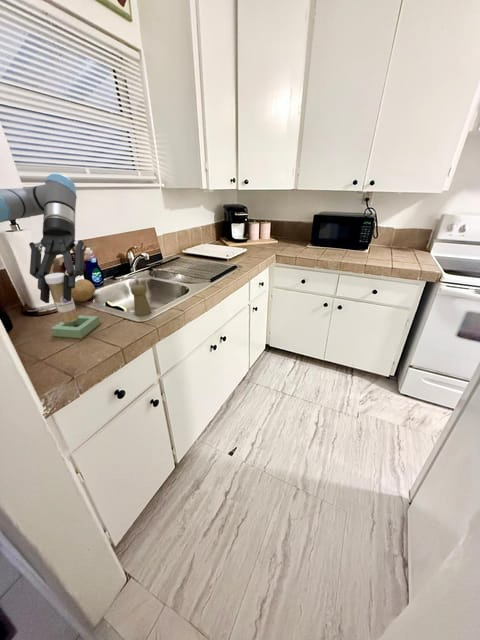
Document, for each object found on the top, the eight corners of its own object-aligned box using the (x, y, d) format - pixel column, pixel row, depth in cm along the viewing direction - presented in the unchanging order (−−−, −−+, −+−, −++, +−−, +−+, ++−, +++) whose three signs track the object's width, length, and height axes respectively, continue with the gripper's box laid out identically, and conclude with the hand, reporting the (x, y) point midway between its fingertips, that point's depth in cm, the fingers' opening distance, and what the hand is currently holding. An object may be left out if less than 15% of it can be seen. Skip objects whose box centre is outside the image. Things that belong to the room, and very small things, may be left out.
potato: (66, 307, 106) (60, 289, 102) (76, 295, 118) (71, 278, 114) (92, 305, 108) (87, 287, 104) (99, 293, 120) (95, 276, 116)
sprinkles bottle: (67, 324, 72) (51, 278, 66) (57, 321, 74) (40, 276, 67) (82, 317, 76) (68, 273, 69) (72, 314, 77) (57, 271, 71)
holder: (54, 336, 86) (51, 328, 85) (75, 322, 95) (72, 314, 94) (81, 338, 85) (79, 330, 84) (100, 323, 94) (98, 316, 92)
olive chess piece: (134, 310, 103) (128, 284, 98) (150, 307, 106) (145, 282, 100) (135, 316, 99) (129, 289, 93) (151, 314, 101) (147, 287, 95)
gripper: (97, 231, 79) (97, 302, 73) (32, 234, 76) (26, 308, 70) (87, 214, 72) (86, 291, 66) (15, 216, 69) (7, 297, 63)
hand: (56, 300), depth 68 cm, fingers closed on sprinkles bottle, 5 cm apart
